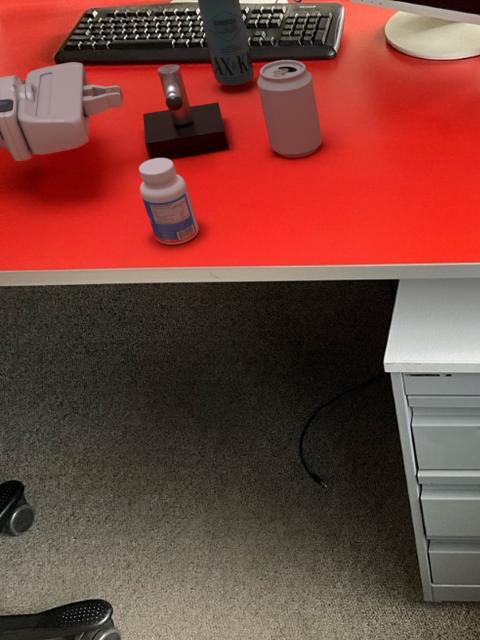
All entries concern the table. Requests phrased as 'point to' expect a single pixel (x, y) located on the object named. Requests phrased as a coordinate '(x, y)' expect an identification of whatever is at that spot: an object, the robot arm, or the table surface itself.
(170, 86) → the spout
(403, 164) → the table surface
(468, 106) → the table surface
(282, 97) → the can
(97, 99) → the robot arm
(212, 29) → the beverage bottle
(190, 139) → the tap base
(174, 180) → the pill bottle
